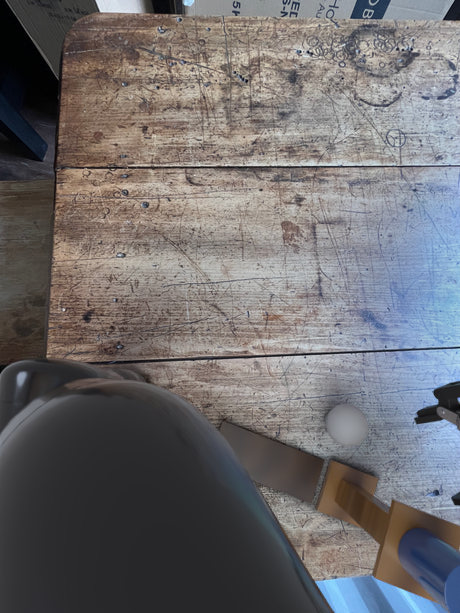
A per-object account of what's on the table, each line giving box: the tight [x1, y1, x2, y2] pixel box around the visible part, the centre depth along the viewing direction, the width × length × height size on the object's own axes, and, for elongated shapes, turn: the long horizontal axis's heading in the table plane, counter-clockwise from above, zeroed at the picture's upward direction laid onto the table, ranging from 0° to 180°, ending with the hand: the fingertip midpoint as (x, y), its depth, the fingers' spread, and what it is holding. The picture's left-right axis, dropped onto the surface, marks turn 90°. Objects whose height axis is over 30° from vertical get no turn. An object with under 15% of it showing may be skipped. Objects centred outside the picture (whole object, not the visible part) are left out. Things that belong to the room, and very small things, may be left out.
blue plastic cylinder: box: [398, 528, 460, 613], centre depth 36 cm, size 5×5×8 cm
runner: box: [218, 420, 325, 504], centre depth 61 cm, size 18×7×1 cm, turn 69°
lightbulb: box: [323, 403, 370, 448], centre depth 58 cm, size 6×6×11 cm
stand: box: [315, 459, 460, 605], centre depth 51 cm, size 8×8×22 cm
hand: (438, 457), depth 41 cm, fingers open, 8 cm apart
